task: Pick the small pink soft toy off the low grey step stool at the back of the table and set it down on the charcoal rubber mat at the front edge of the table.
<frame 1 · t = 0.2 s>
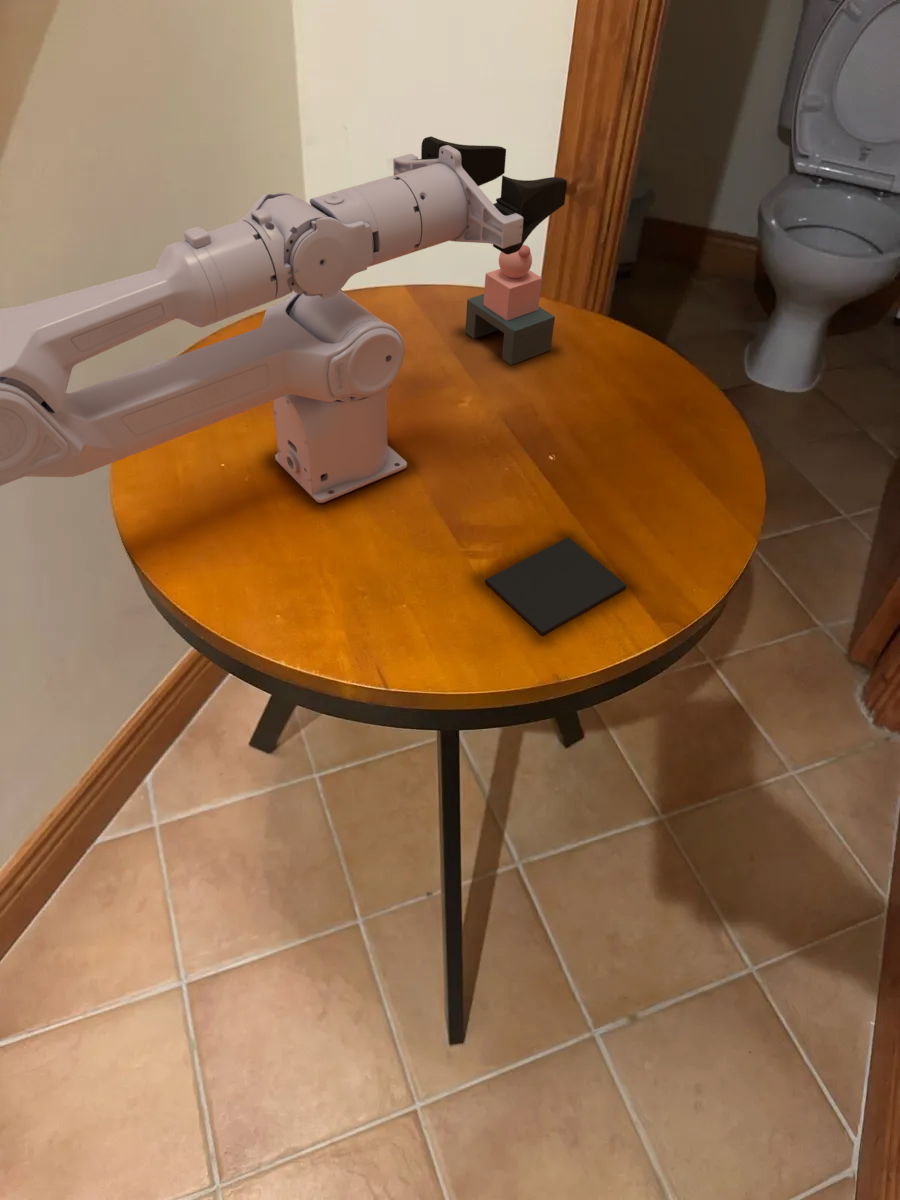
hand: (532, 175, 76), 22 cm above the table, tool horizontal, fingers open, 7 cm apart
dragon figurine: (324, 374, 93), on the table
toy: (510, 307, 96), point 4 cm above the table, touching grey step stool
mat: (555, 585, 73), on the table
grey step stool: (507, 341, 99), on the table
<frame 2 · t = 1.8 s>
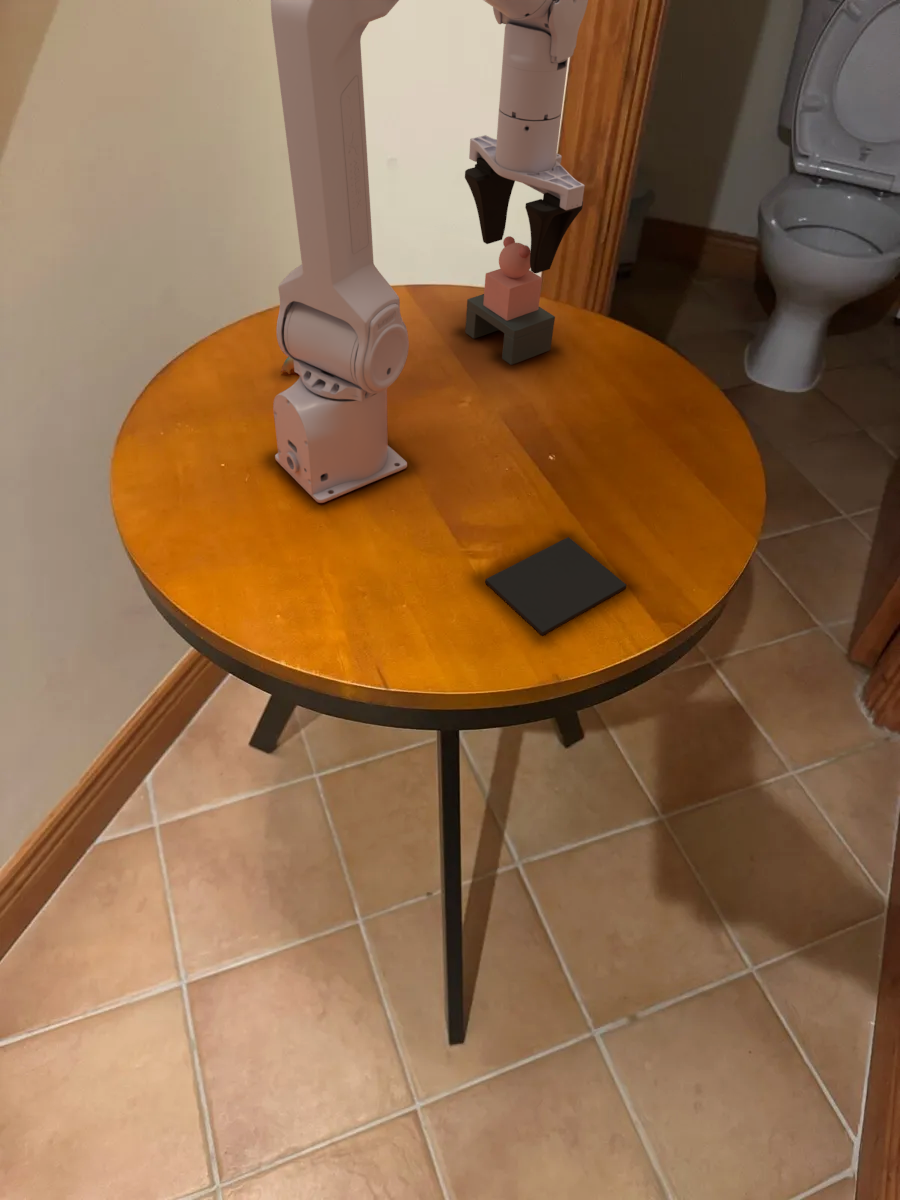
hand: (516, 255, 92), 10 cm above the table, tool pointing down, fingers open, 7 cm apart
nothing on the table moved.
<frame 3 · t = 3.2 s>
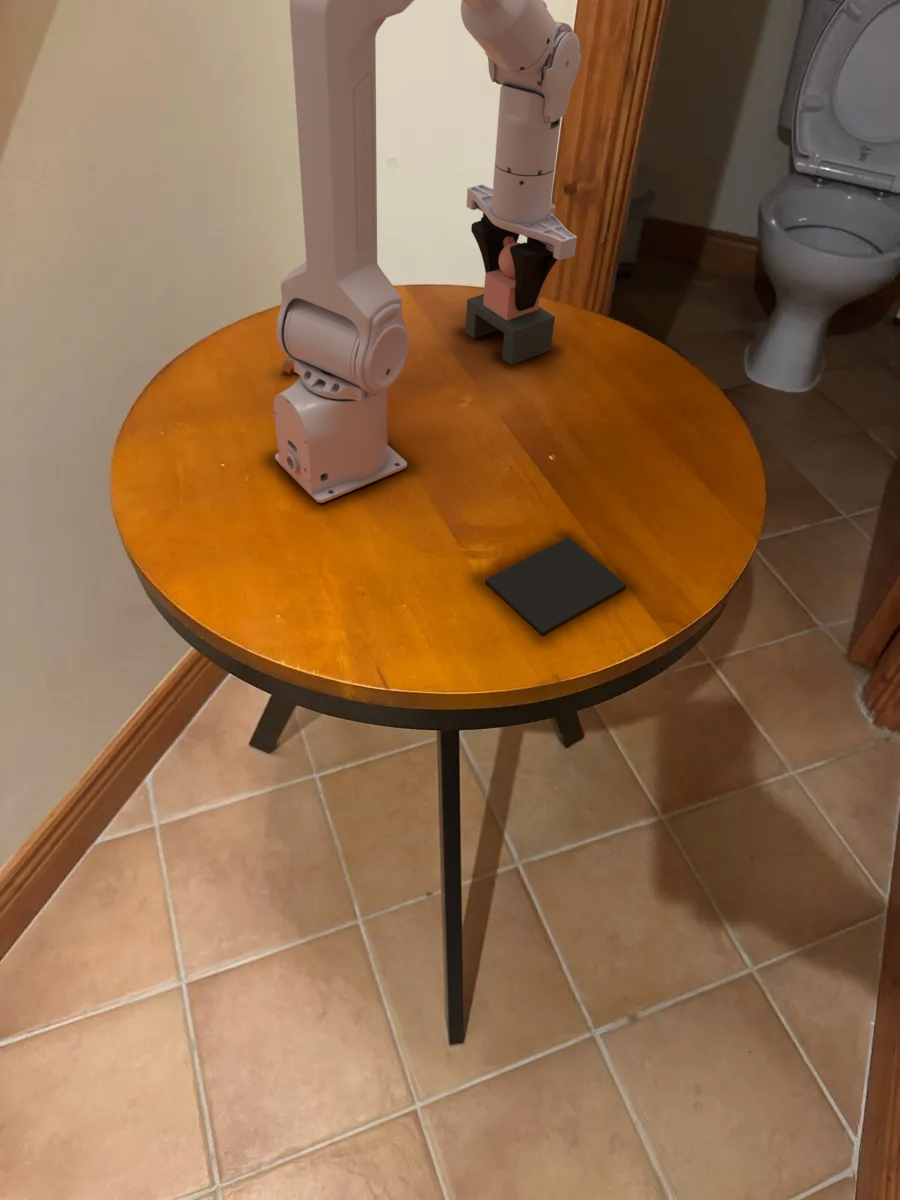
hand: (511, 298, 95), 5 cm above the table, tool pointing down, fingers closed on toy, 4 cm apart
toy: (510, 307, 96), point 4 cm above the table, touching gripper, grey step stool
everything else where it was.
when the fingers open (1 cm above the table, at t = 9.2 s): toy stays where it is, resting on mat.
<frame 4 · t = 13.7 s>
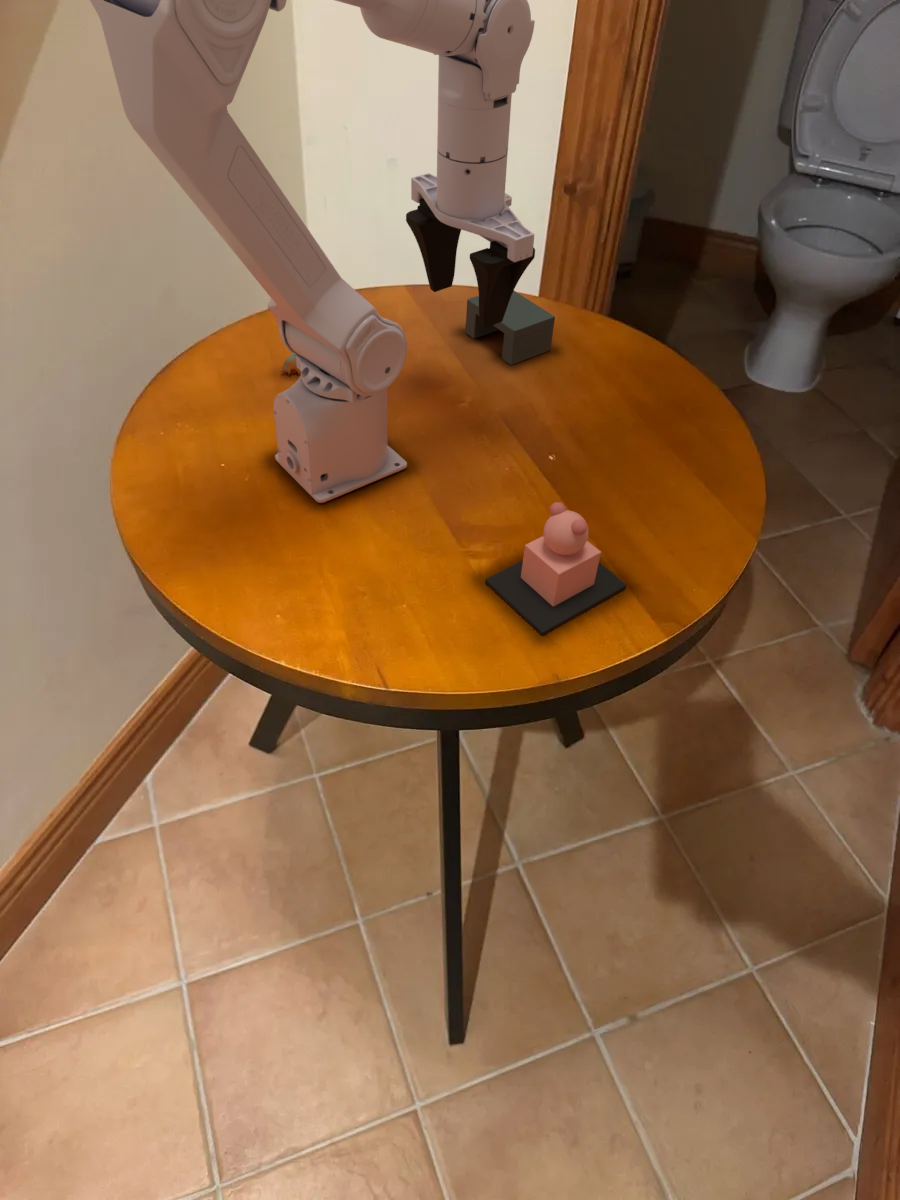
hand: (465, 305, 83), 10 cm above the table, tool pointing down, fingers open, 7 cm apart
toy: (557, 581, 72), resting on mat
everything else where it was.
at the end: toy inside the target area on the mat (0.1 cm from its centre), point 0.4 cm above the mat's base; toy tilted 0°; the gripper is holding nothing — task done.
